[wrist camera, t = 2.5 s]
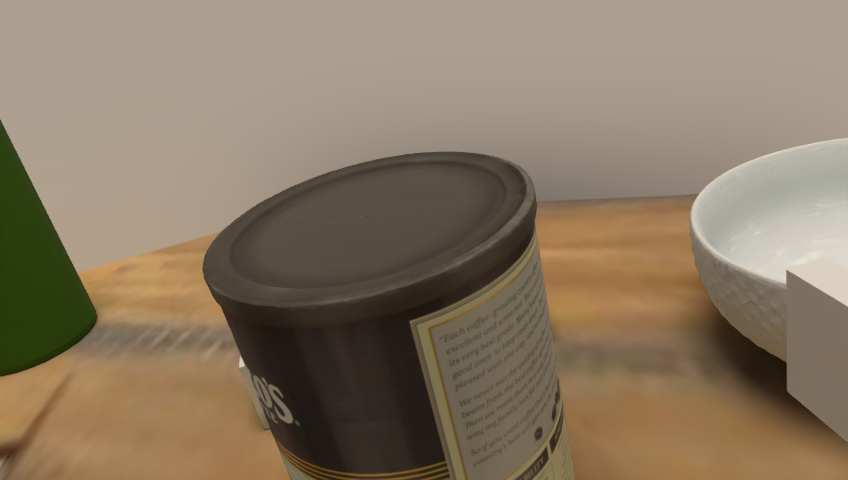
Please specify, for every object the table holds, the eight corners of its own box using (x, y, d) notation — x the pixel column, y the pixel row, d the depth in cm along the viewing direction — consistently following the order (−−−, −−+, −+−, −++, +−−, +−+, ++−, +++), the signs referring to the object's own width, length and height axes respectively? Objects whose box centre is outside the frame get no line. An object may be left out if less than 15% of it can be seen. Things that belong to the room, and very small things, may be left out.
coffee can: (346, 710, 21) (185, 348, 15) (318, 484, 31) (210, 203, 25) (641, 595, 23) (597, 219, 17) (528, 411, 32) (473, 128, 26)
